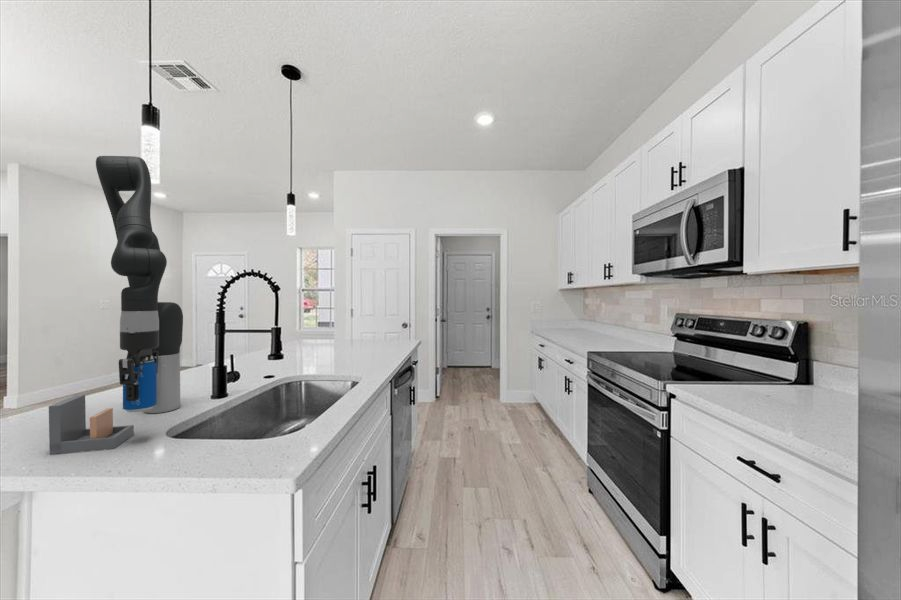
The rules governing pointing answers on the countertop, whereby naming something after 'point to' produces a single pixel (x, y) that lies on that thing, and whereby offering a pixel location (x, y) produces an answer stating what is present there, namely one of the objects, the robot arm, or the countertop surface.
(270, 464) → the countertop surface
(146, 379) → the beverage can
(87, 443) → the grey bracket
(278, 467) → the countertop surface
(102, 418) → the thin tan plate
